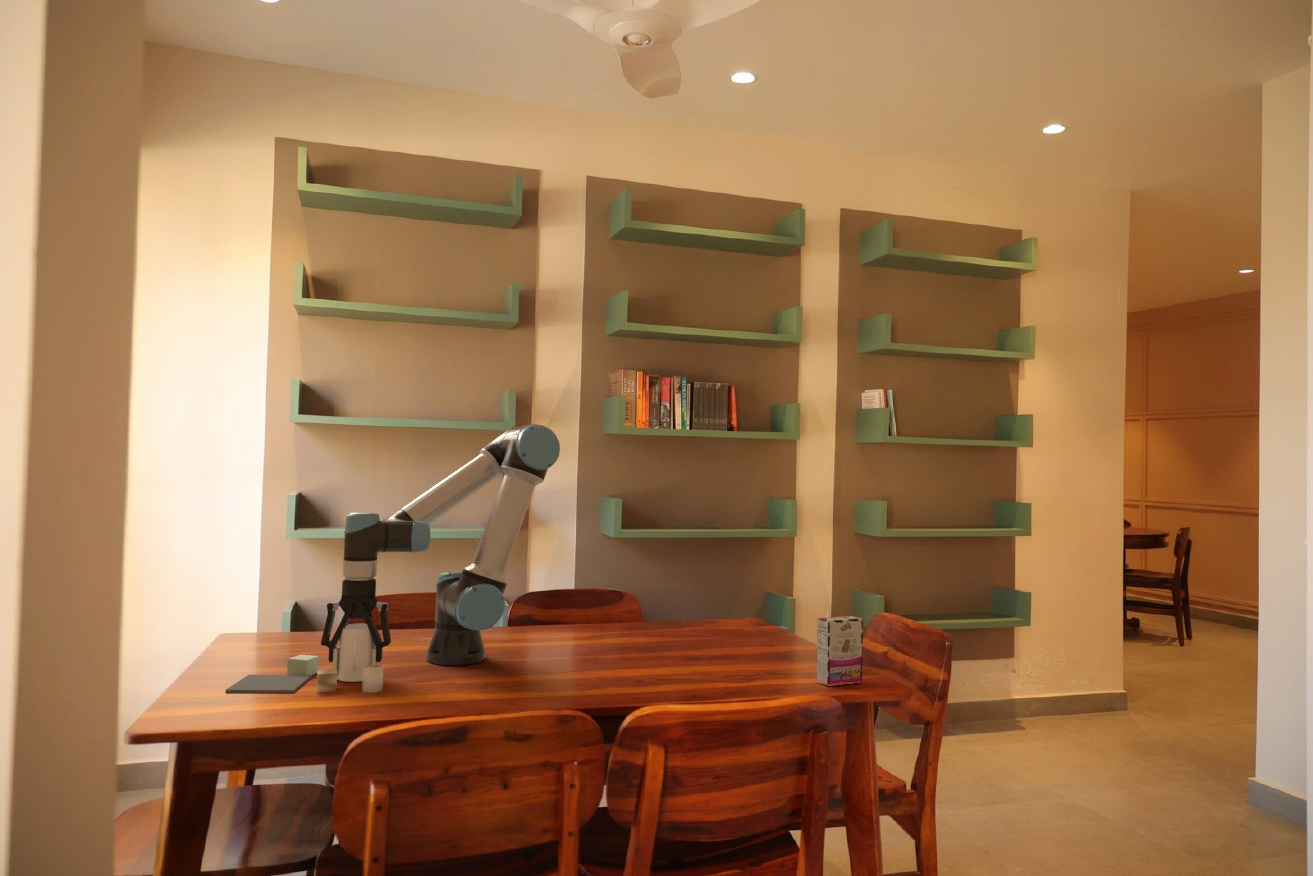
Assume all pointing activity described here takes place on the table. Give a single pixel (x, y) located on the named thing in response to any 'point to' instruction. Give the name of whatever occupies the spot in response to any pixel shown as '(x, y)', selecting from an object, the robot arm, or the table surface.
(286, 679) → the coaster
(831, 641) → the candy bar box
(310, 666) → the sage block
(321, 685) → the maple block
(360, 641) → the mug
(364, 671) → the beige rounded block
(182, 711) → the table surface
